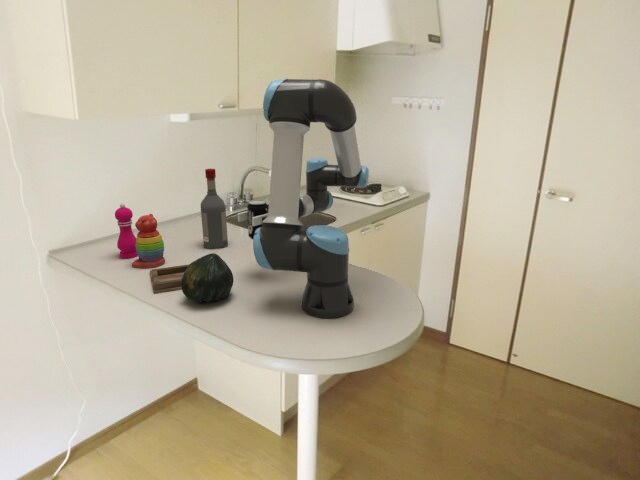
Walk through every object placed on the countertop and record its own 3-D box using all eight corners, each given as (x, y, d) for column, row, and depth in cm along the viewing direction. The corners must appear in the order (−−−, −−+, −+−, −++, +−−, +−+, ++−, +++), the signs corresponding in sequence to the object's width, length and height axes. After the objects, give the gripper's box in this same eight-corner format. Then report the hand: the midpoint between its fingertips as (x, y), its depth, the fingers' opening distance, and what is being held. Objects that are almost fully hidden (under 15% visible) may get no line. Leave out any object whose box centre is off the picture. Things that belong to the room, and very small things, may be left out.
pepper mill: (122, 260, 176) (115, 207, 169) (116, 255, 181) (108, 203, 175) (142, 256, 180) (135, 203, 174) (135, 251, 185) (128, 200, 179)
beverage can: (265, 241, 156) (264, 204, 152) (245, 239, 157) (244, 203, 153) (271, 235, 162) (270, 199, 158) (252, 233, 163) (251, 198, 159)
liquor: (226, 240, 197) (221, 166, 187) (228, 247, 189) (223, 171, 179) (203, 242, 195) (197, 167, 185) (204, 249, 187) (198, 172, 177)
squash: (168, 279, 146) (184, 251, 137) (209, 267, 157) (227, 241, 147) (189, 319, 142) (207, 293, 133) (230, 304, 153) (250, 279, 143)
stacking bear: (148, 256, 180) (142, 210, 174) (172, 259, 177) (167, 212, 171) (129, 267, 170) (122, 218, 164) (154, 270, 167) (148, 220, 161)
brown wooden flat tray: (206, 285, 155) (206, 277, 154) (154, 293, 149) (153, 285, 148) (197, 266, 171) (197, 258, 170) (150, 272, 165) (149, 265, 164)
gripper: (317, 222, 165) (266, 237, 148) (278, 212, 177) (227, 225, 161) (317, 200, 162) (265, 213, 146) (278, 192, 175) (226, 203, 159)
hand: (245, 219), depth 154 cm, fingers closed on beverage can, 6 cm apart
